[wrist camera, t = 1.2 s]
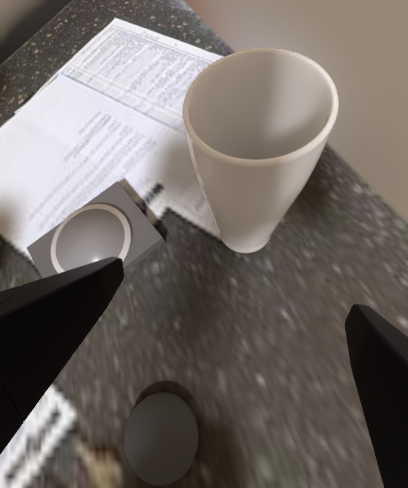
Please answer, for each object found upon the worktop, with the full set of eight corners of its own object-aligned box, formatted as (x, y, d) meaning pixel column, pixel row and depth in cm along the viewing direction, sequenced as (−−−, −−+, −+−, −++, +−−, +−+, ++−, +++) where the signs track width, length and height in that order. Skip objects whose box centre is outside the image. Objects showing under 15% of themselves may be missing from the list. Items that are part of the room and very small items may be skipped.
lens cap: (154, 498, 18) (150, 506, 17) (115, 423, 20) (110, 427, 19) (214, 443, 19) (213, 448, 18) (170, 375, 21) (168, 377, 20)
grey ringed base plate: (70, 316, 24) (58, 315, 22) (35, 251, 27) (22, 246, 25) (165, 241, 25) (160, 235, 23) (122, 187, 28) (115, 178, 26)
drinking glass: (204, 252, 24) (158, 152, 10) (221, 195, 26) (203, 41, 12) (271, 269, 23) (331, 180, 9) (284, 207, 24) (351, 49, 10)
